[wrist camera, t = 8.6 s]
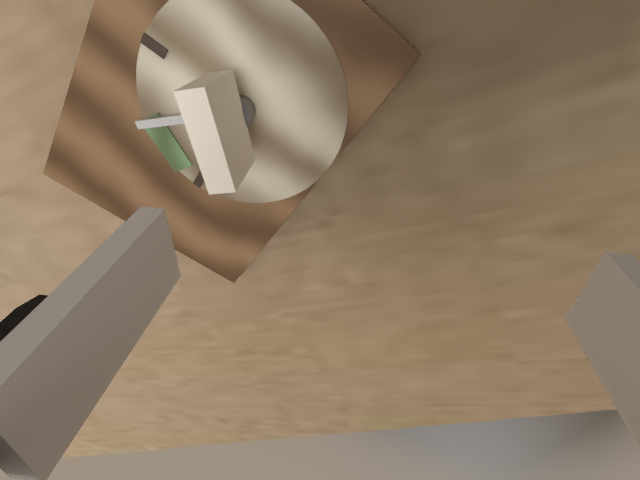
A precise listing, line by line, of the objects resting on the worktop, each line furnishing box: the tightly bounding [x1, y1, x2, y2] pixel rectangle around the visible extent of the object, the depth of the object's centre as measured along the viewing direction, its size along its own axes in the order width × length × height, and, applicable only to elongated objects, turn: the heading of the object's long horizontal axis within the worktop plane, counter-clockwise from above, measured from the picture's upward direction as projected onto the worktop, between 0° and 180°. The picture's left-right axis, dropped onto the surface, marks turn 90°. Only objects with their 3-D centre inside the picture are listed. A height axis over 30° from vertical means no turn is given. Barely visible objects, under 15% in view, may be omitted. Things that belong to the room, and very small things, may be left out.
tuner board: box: [43, 0, 421, 283], centre depth 33 cm, size 30×22×2 cm
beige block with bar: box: [135, 69, 256, 195], centre depth 28 cm, size 7×11×9 cm, turn 98°
